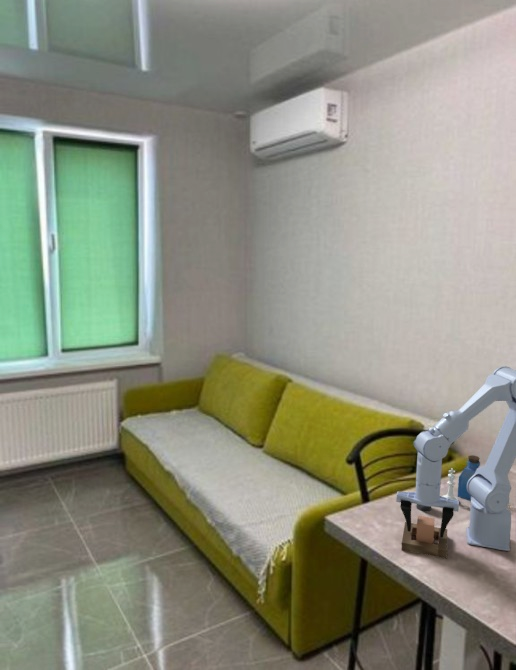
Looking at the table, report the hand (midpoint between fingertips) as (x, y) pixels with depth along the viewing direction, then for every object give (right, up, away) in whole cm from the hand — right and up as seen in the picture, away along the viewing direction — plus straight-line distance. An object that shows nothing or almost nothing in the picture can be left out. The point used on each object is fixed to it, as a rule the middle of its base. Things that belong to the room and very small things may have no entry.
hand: (425, 532), depth 129 cm
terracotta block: (0, -3, +1) cm, 3 cm away
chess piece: (+15, 0, +23) cm, 27 cm away
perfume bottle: (+22, +1, +26) cm, 34 cm away
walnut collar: (0, -3, 0) cm, 3 cm away
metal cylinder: (+6, 0, +18) cm, 19 cm away
